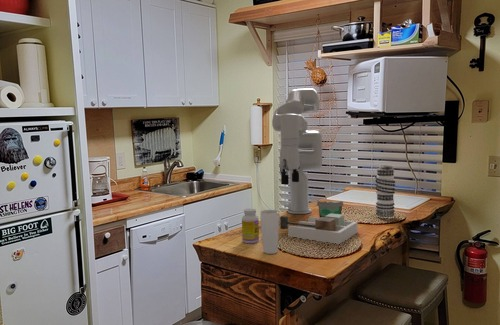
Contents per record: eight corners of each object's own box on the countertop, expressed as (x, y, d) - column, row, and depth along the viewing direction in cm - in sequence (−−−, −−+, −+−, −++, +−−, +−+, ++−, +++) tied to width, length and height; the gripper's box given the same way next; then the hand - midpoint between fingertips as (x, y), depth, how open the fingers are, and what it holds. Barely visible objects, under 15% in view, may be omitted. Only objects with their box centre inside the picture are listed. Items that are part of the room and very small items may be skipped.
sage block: (325, 230, 174) (325, 216, 174) (330, 227, 179) (330, 213, 179) (338, 232, 171) (338, 217, 170) (344, 228, 176) (344, 214, 175)
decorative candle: (372, 215, 206) (373, 165, 204) (391, 215, 206) (392, 164, 203) (377, 219, 197) (378, 167, 195) (397, 219, 197) (398, 166, 194)
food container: (314, 223, 192) (314, 202, 191) (317, 220, 198) (317, 199, 197) (341, 225, 188) (341, 203, 187) (343, 222, 194) (343, 200, 193)
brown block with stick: (277, 229, 176) (277, 215, 176) (284, 226, 181) (284, 212, 181) (329, 236, 163) (329, 221, 163) (335, 233, 168) (335, 218, 167)
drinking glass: (266, 256, 147) (265, 214, 145) (258, 251, 153) (257, 210, 152) (283, 253, 149) (282, 212, 148) (274, 248, 156) (273, 208, 154)
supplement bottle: (256, 244, 162) (255, 211, 160) (240, 243, 163) (239, 211, 162) (260, 239, 168) (260, 208, 167) (245, 238, 170) (244, 207, 169)
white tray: (288, 236, 171) (288, 226, 170) (309, 226, 187) (309, 216, 187) (339, 244, 159) (339, 232, 158) (357, 232, 175) (357, 221, 175)
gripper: (291, 142, 186) (291, 180, 187) (272, 143, 172) (272, 185, 173) (306, 142, 182) (307, 181, 183) (288, 143, 168) (288, 185, 169)
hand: (290, 183), depth 178 cm, fingers open, 9 cm apart
